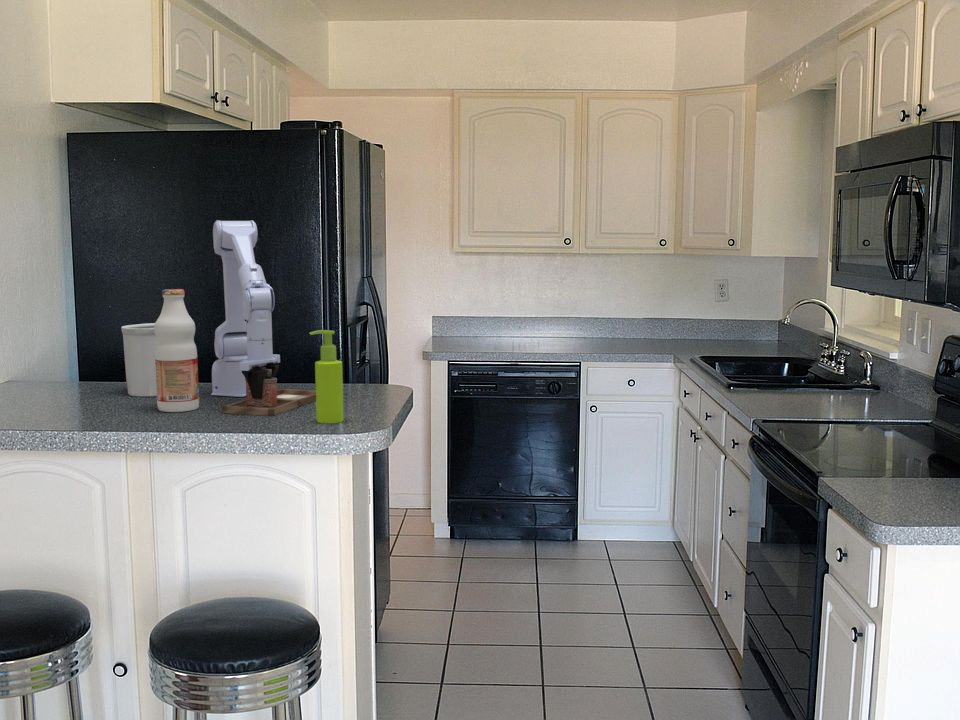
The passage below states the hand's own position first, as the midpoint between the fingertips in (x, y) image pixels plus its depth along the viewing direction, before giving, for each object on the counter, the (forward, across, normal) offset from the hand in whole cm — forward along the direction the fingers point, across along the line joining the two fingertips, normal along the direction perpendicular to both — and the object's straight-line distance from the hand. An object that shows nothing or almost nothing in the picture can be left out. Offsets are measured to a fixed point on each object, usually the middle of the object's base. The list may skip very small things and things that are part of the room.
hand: (261, 397), depth 230 cm
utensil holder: (+3, +12, +39) cm, 41 cm away
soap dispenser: (+3, -8, -21) cm, 23 cm away
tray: (+3, +6, 0) cm, 7 cm away
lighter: (+3, 0, 0) cm, 3 cm away
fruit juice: (+3, -6, +19) cm, 20 cm away
